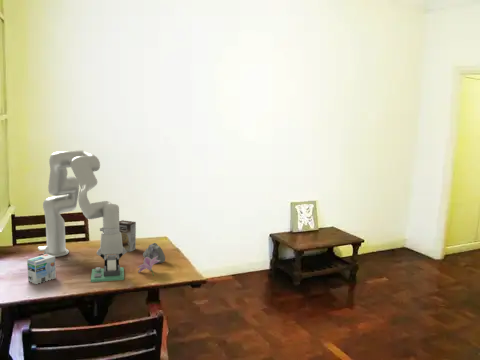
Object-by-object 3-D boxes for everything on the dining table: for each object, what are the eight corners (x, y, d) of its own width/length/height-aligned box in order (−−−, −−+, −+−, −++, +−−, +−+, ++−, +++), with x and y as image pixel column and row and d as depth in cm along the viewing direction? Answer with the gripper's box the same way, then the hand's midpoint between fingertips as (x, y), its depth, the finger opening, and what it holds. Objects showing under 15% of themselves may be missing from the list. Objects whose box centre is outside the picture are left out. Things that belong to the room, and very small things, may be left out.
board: (90, 282, 220) (90, 274, 219) (92, 271, 233) (92, 264, 232) (124, 279, 224) (123, 272, 223) (123, 269, 237) (123, 262, 236)
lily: (164, 272, 238) (157, 254, 239) (164, 271, 227) (157, 252, 228) (141, 281, 235) (134, 262, 237) (140, 280, 224) (133, 261, 225)
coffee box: (116, 250, 266) (115, 222, 263) (122, 246, 272) (121, 219, 269) (130, 252, 264) (130, 224, 261) (136, 248, 270) (136, 221, 267)
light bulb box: (36, 285, 215) (35, 262, 213) (27, 281, 218) (26, 259, 216) (56, 277, 224) (55, 256, 222) (47, 274, 227) (46, 253, 225)
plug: (107, 274, 226) (107, 258, 224) (107, 270, 230) (107, 255, 229) (116, 273, 227) (115, 257, 225) (116, 270, 231) (115, 254, 230)
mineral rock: (142, 257, 256) (142, 239, 254) (162, 255, 259) (162, 238, 258) (145, 265, 244) (145, 246, 242) (166, 263, 247) (166, 245, 246)
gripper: (92, 233, 219) (93, 270, 222) (129, 231, 224) (129, 268, 227) (93, 228, 226) (94, 265, 230) (129, 227, 231) (129, 263, 234)
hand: (111, 266), depth 228 cm, fingers closed on plug, 4 cm apart
